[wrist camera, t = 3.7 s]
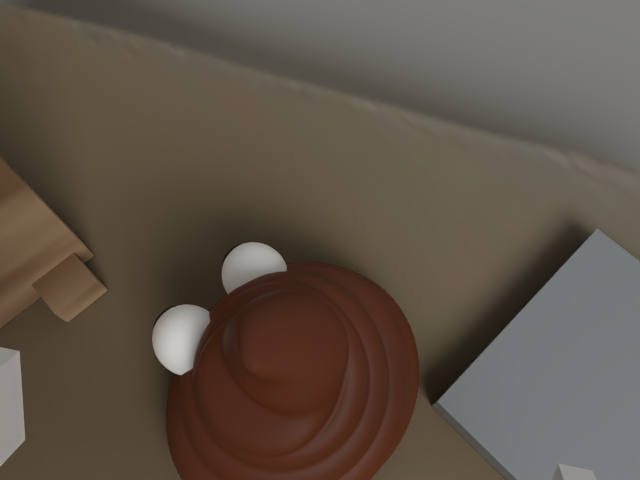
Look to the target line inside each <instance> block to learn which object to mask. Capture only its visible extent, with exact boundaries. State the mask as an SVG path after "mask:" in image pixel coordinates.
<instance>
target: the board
mask: <svg viewBox="0 0 640 480" xmlns="http://www.w3.org/2000/svg"><path fill="white" fill-rule="evenodd" d="M432 407H433V408H434V409H435V410H436V411H437V412H438V413H439V414H440V415H441V416H442V417H443V418H444V419H445V420H446V421H447V422H448V423H449V424H450V425H451V426H452V427H453V428H454V429H455V430H456V431H457V432H458V433H459V434H460V435H461V436H462V437H463V438H464V439H465V440H466V441H467V442H468V443H469V444H470V445H471V446H472V447H473V448H474V449H475V450H476V451H477V452H479V453H480V454H481V455H482V456H483V457H484V458H485V459H486V460H487V461H488V462H489V463H490V464H491V465H492V466H493V467H494V468H495V469H496V470H497V471H498V472H499V473H500V474H501V475H502V476H503V477H504V478H505V479H506V480H552V479H553V476H554V473H555V471H556V468H557V465H558V463H559V464H564V465H568V466H573V467H578V468H583V469H588V470H592V471H593V473H594V475H595V478H596V480H640V261H638V260H637V259H636V258H635V257H633V256H632V255H631V254H629V253H628V252H627V251H626V250H624V249H623V248H622V247H620V246H619V245H618V244H617V243H615V242H614V241H613V240H611V239H610V238H609V237H608V236H606V235H605V234H604V233H602V232H601V231H600V230H599V229H596V230H595V231H594V232H593V233H592V234H591V235H590V236H589V237H588V238H587V239H586V240H585V241H584V242H583V243H582V244H581V245H580V246H579V247H578V248H577V249H576V251H575V252H574V253H573V254H572V255H571V256H570V257H569V258H568V259H567V260H566V261H565V262H564V263H563V265H562V266H561V267H560V268H559V269H558V270H557V271H556V272H555V273H554V274H553V275H552V276H551V278H550V279H549V280H548V281H547V282H546V283H545V284H544V285H543V286H542V287H541V288H540V289H539V290H538V292H537V293H536V294H535V295H534V296H533V297H532V298H531V299H530V300H529V301H528V302H527V303H526V305H525V306H524V307H523V308H522V309H521V310H520V311H519V312H518V313H517V314H516V315H515V316H514V317H513V319H512V320H511V321H510V322H509V323H508V324H507V325H506V326H505V327H504V328H503V329H502V330H501V331H500V333H499V334H498V335H497V336H496V337H495V338H494V339H493V340H492V341H491V342H490V343H489V344H488V346H487V347H486V348H485V349H484V350H483V351H482V352H481V353H480V354H479V355H478V356H477V357H476V358H475V360H474V361H473V362H472V363H471V364H470V365H469V366H468V367H467V368H466V369H465V370H464V371H463V373H462V374H461V375H460V376H459V377H458V378H457V379H456V380H455V381H454V382H453V383H452V384H451V385H450V387H449V388H448V389H447V390H446V391H445V392H444V393H443V394H442V395H441V396H440V397H439V398H438V400H437V401H436V402H435V403H434V404H433V405H432Z"/></svg>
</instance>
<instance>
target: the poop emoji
mask: <svg viewBox="0 0 640 480" xmlns="http://www.w3.org/2000/svg"><path fill="white" fill-rule="evenodd" d="M222 282H223V286H224V288H225V290H226V292H227V295H225V296H224V297H223V298H222V299H221V300H220V301H219V302H218V303H217V304H216V305H215V306H214V307H213V308H212V309H211V310H210V311H207V310H205V309H204V308H201V307H199V306H195V305H187V304H186V305H179V306H178V305H176V306H171V307H169V308H167V309H166V310H164V311H163V312H162V313H161V314H160V315H159V316H158V318H157V319H156V321H155V323H154V329H153V334H152V344H153V349H154V352H155V354H156V356H157V358H158V360H159V361H160V362H161V363H162V365H163V366H164V367H166V368H167V369H168V370H170V371H171V372H173V373H174V374H173V378H172V381H171V385H170V389H169V394H168V401H167V411H166V429H167V439H168V445H169V449H170V453H171V456H172V459H173V462H174V465H175V467H176V469H177V471H178V473H179V475H180V477H181V479H182V480H370V479H371V478H372V477H373V476H374V475H375V474H376V472H377V471H378V470H379V469H380V467H381V466H382V465H383V464H384V463H385V462H386V460H387V459H388V458H389V457H390V456H391V454H392V453H393V451H394V450H395V449H396V447H397V446H398V444H399V442H400V441H401V439H402V437H403V435H404V433H405V431H406V429H407V427H408V424H409V422H410V419H411V417H412V414H413V410H414V407H415V403H416V398H417V392H418V385H419V360H418V352H417V347H416V343H415V339H414V336H413V333H412V330H411V327H410V325H409V323H408V321H407V319H406V317H405V315H404V313H403V312H402V310H401V309H400V307H399V306H398V304H397V303H396V302H395V301H394V300H393V298H392V297H391V296H390V295H389V294H388V293H387V292H386V291H385V290H384V289H382V288H381V287H380V286H379V285H377V284H376V283H374V282H373V281H371V280H370V279H368V278H366V277H364V276H362V275H360V274H357V273H355V272H352V271H349V270H346V269H343V268H340V267H337V266H334V265H330V264H325V263H318V262H296V263H289V264H286V263H285V261H284V260H283V258H282V257H281V255H280V254H279V253H278V252H277V251H276V250H274V249H273V248H271V247H270V246H268V245H265V244H262V243H257V242H249V243H244V244H238V245H236V246H234V247H233V248H232V249H231V250H230V251H229V252H228V253H227V254H226V256H225V257H224V260H223V262H222Z"/></svg>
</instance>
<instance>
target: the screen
mask: <svg viewBox="0 0 640 480" xmlns="http://www.w3.org/2000/svg"><path fill="white" fill-rule="evenodd" d="M93 256H94V255H93V253H92V252H91V251H90V250H89V249H88V248H87V247H86V245H85V244H84V243H83V242H82V241H81V240H80V238H79V237H78V236H77V235H76V234H75V233H74V232H73V230H72V229H71V228H70V227H69V226H68V225H67V224H66V223H65V222H64V221H63V220H62V219H61V218H60V217H59V216H58V215H57V214H56V213H55V212H54V211H53V210H52V209H51V208H50V206H49V205H48V204H47V203H46V202H45V201H44V200H43V199H42V198H41V197H40V196H39V195H38V194H37V193H36V192H35V191H34V190H33V189H32V188H31V187H30V186H29V185H28V184H27V182H26V181H25V180H24V179H23V178H22V177H21V176H20V175H19V174H18V173H17V172H16V171H15V170H14V169H13V168H12V167H11V166H10V165H9V164H8V163H7V162H6V161H5V160H4V158H3V157H2V156H1V155H0V329H1V328H2V327H3V326H4V325H6V324H7V323H8V322H10V321H11V320H12V319H13V318H15V317H16V316H17V315H19V314H20V313H21V312H23V311H24V310H25V309H26V308H28V307H29V306H30V305H32V304H33V303H34V302H35V301H37V300H38V299H39V298H42V299H43V300H44V301H45V303H46V304H47V305H48V306H49V308H50V309H51V310H52V311H53V313H54V314H55V315H57V316H58V317H60V318H61V319H63V320H64V321H66V322H67V323H68V322H69V321H71V320H72V319H73V318H74V317H76V316H77V315H78V314H79V313H81V312H82V311H83V310H84V309H85V308H87V307H88V306H89V305H90V304H92V303H93V302H94V301H95V300H97V299H98V298H99V297H100V296H102V295H103V294H104V293H105V292H107V291H108V290H107V289H106V287H105V286H104V285H103V284H102V283H101V282H100V280H99V279H98V278H97V277H96V276H95V275H94V273H93V272H92V271H91V270H90V269H89V268H88V266H87V265H86V264H85V263H86V262H87V261H88V260H90V259H91V258H92V257H93Z"/></svg>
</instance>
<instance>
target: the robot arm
mask: <svg viewBox="0 0 640 480" xmlns="http://www.w3.org/2000/svg"><path fill="white" fill-rule="evenodd" d="M24 441H25V428H24V412H23V397H22V381H21V366H20V351H16V350H11V349H7V348H2V347H0V466H1V465H2V464H3V463H4V462H5V461H6V460H7V459H8V458H9V457H10V456H11V455H12V453H13V452H14V451H15V450H16V449H17V448H18V447H19V446H20V445H21V444H22V443H23V442H24ZM552 480H596V478H595V475H594V473H593V471H592V470H588V469H583V468H578V467H573V466H568V465H564V464H559V463H558V465H557V468H556V471H555V473H554V476H553V479H552Z"/></svg>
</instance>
